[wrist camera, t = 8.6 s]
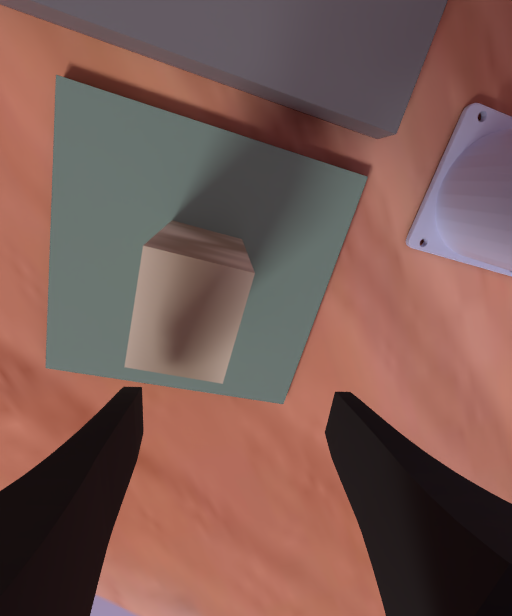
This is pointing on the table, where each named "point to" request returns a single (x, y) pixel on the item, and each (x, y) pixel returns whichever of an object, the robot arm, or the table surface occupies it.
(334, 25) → the pocket plate
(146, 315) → the birch block
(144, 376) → the rubber mat
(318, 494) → the table surface
